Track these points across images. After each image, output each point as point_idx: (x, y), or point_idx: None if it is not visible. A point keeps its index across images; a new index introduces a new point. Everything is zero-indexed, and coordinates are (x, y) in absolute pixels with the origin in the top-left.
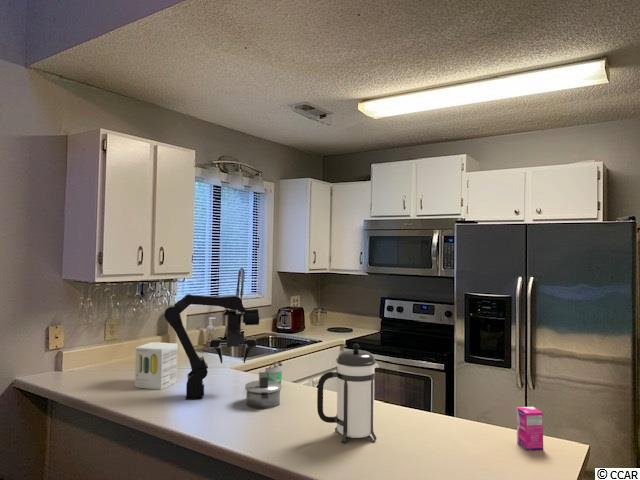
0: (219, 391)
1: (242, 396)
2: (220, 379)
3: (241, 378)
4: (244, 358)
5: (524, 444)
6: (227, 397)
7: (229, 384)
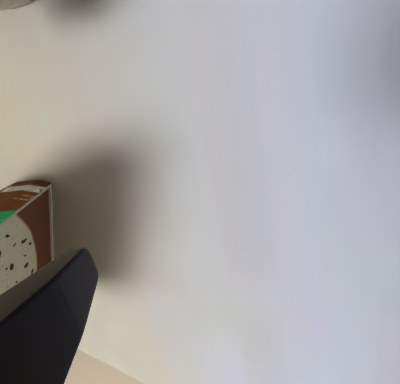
0: (355, 172)
1: (171, 55)
2: (351, 369)
3: (239, 372)
4: (25, 294)
5: None
6: (285, 23)
7: (294, 296)
